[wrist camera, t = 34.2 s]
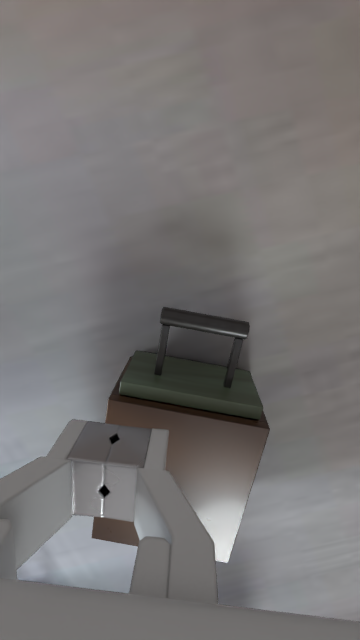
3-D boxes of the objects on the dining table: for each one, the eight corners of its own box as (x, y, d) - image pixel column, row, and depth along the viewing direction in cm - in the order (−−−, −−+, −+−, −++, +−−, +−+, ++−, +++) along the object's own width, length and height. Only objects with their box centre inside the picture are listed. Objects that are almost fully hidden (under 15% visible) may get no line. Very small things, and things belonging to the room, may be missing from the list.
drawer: (144, 292, 27) (129, 309, 21) (265, 314, 27) (284, 337, 21) (120, 460, 33) (103, 511, 27) (220, 478, 33) (226, 533, 27)
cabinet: (130, 356, 30) (107, 399, 23) (251, 378, 30) (270, 429, 23) (114, 469, 35) (91, 538, 27) (220, 488, 35) (228, 563, 27)
